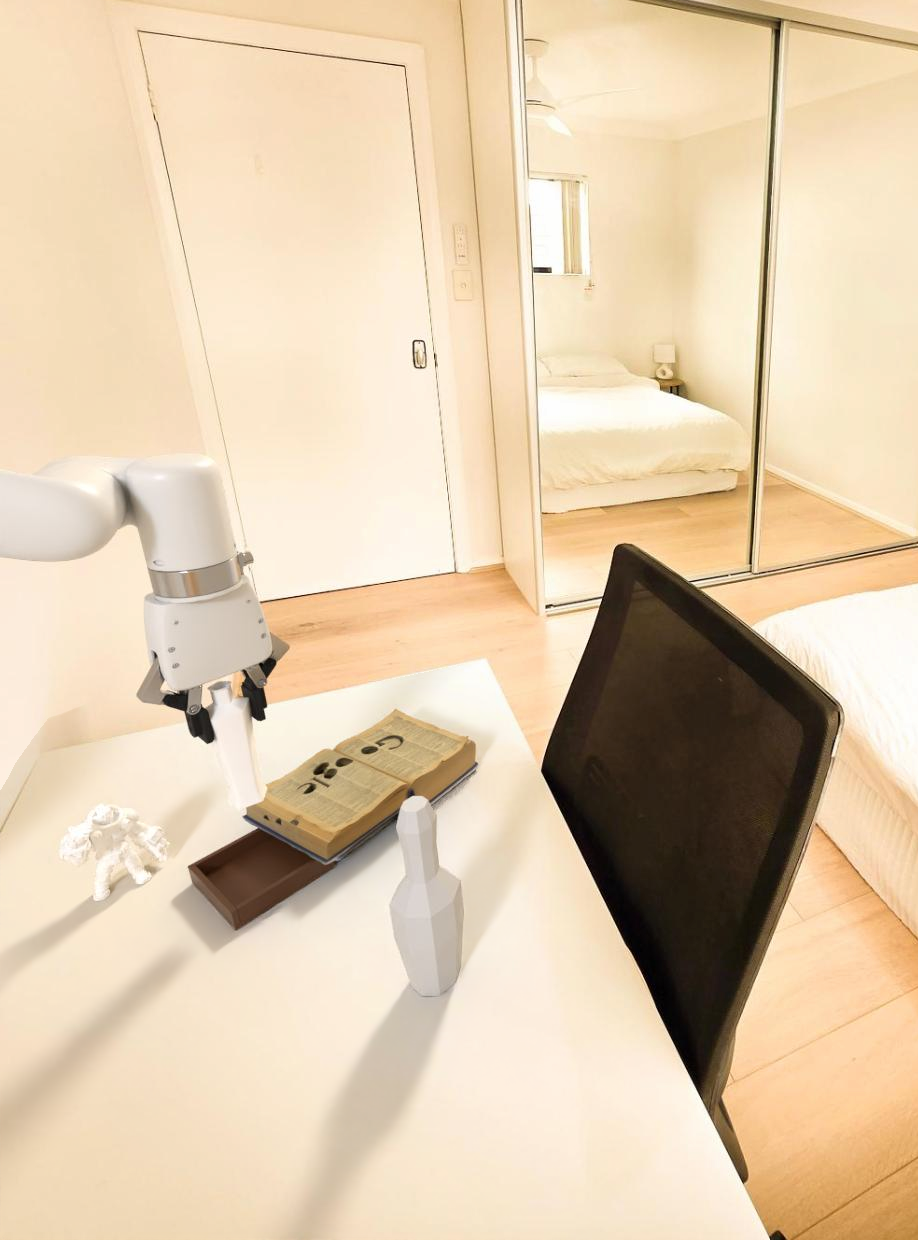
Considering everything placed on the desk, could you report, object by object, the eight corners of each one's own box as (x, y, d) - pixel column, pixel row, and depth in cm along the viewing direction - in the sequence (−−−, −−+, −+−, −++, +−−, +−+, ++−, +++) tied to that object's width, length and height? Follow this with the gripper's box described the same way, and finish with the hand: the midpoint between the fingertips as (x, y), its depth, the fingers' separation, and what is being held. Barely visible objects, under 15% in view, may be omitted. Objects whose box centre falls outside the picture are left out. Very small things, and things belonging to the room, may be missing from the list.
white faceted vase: (229, 789, 81) (199, 679, 76) (272, 780, 82) (245, 672, 77) (219, 815, 77) (187, 701, 72) (264, 806, 78) (236, 693, 73)
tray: (235, 931, 76) (231, 913, 75) (192, 883, 82) (187, 866, 81) (335, 867, 85) (332, 850, 84) (289, 828, 91) (285, 812, 90)
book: (401, 735, 110) (397, 703, 108) (480, 767, 103) (477, 733, 101) (244, 835, 89) (236, 797, 87) (330, 883, 82) (323, 843, 80)
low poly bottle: (480, 958, 74) (463, 789, 67) (443, 1013, 68) (421, 835, 61) (429, 942, 75) (408, 775, 68) (389, 994, 70) (361, 818, 62)
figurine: (101, 924, 76) (72, 838, 72) (60, 919, 77) (29, 833, 73) (178, 855, 86) (156, 775, 82) (141, 850, 86) (117, 771, 82)
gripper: (266, 546, 79) (292, 684, 85) (79, 592, 66) (126, 752, 72) (300, 561, 75) (325, 705, 81) (108, 613, 62) (155, 780, 68)
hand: (231, 725), depth 76 cm, fingers closed on white faceted vase, 4 cm apart
